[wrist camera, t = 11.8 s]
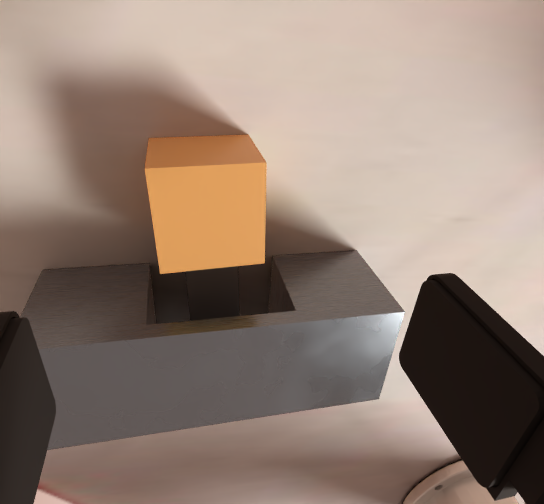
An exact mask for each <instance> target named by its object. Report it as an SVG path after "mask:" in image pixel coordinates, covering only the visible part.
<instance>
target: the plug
mask: <svg viewBox="0 0 544 504" xmlns="http://www.w3.org/2000/svg"><path fill="white" fill-rule="evenodd" d="M145 175H146V181H147V188H148V195H149V202H150V209H151V215H152V222H153V229H154V236H155V242H156V249H157V256H158V263H159V270H160V274H165V273H175V272H186V281H187V291H188V300H189V309H190V319H191V321H193V320H204V319H214V318H225V317H235V316H239V281H238V266H243V265H253V264H263V263H265V219H266V161H265V159H264V158H263V156H262V155H261V153H260V152H259V150H258V149H257V147H256V146H255V144H254V143H253V141H252V139H251V138H250V136H249V135H220V136H192V137H164V138H149V140H148V148H147V155H146V162H145Z"/></svg>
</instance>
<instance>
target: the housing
mask: <svg viewBox="0 0 544 504" xmlns="http://www.w3.org/2000/svg"><path fill="white" fill-rule="evenodd" d="M404 313H405V311H404V310H403V309H402V308H401V306H400V305H399V304H398V302H397V301H396V300H395V299H394V297H393V296H392V295H391V294H390V292H389V291H388V290H387V288H386V287H385V286H384V285H383V283H382V282H381V281H380V280H379V278H378V277H377V276H376V274H375V273H374V272H373V271H372V269H371V268H370V267H369V266H368V264H367V263H366V262H365V260H364V259H363V258H362V257H361V255H360V254H359V253H358V252H357V250H356V251H340V252H324V253H308V254H292V255H276V256H273V257H272V270H271V283H270V296H269V309H268V313H267V314H257V315H246V316H235V317H225V318H214V319H204V320H193V321H183V322H172V323H162V324H156V318H155V308H154V299H153V290H152V281H151V271H150V263H146V264H130V265H114V266H98V267H82V268H65V269H49V270H42V272H41V274H40V276H39V278H38V281H37V283H36V285H35V287H34V289H33V291H32V293H31V295H30V297H29V300H28V302H27V304H26V306H25V308H24V310H23V312H22V314H21V316H20V318H22V317H26V318H27V319H28V320H29V322H30V325H31V328H32V331H33V334H34V337H35V340H36V344H37V347H38V350H39V353H40V356H41V359H42V362H43V365H44V368H45V371H46V374H47V377H48V380H49V383H50V386H51V389H52V392H53V396H54V399H55V403H56V416H55V420H54V424H53V428H52V432H51V436H50V440H49V444H48V448H47V450H51V449H57V448H64V447H70V446H77V445H83V444H90V443H96V442H103V441H109V440H116V439H122V438H129V437H135V436H142V435H148V434H155V433H161V432H168V431H174V430H181V429H187V428H194V427H200V426H207V425H213V424H220V423H226V422H233V421H239V420H246V419H252V418H259V417H265V416H272V415H278V414H285V413H291V412H298V411H304V410H311V409H317V408H324V407H330V406H337V405H343V404H350V403H356V402H363V401H369V400H376V399H379V396H380V393H381V390H382V386H383V383H384V380H385V376H386V373H387V370H388V366H389V363H390V360H391V356H392V353H393V350H394V346H395V343H396V340H397V336H398V333H399V330H400V326H401V323H402V320H403V316H404Z"/></svg>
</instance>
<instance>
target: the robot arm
mask: <svg viewBox="0 0 544 504" xmlns="http://www.w3.org/2000/svg"><path fill="white" fill-rule="evenodd" d="M399 361H400V364H401V367H402V369H403V370H404V372H405V373H406V375H407V376H408V378H409V379H410V381H411V382H412V384H413V385H414V387H415V388H416V390H417V391H418V393H419V394H420V396H421V397H422V399H423V401H424V402H425V404H426V405H427V407H428V408H429V410H430V411H431V413H432V414H433V416H434V417H435V419H436V420H437V422H438V423H439V425H440V426H441V428H442V429H443V431H444V433H445V434H446V436H447V437H448V439H449V440H450V442H451V443H452V445H453V446H454V448H455V449H456V451H457V452H458V454H459V455H460V457H461V458H462V460H461V461H458V462H455V463H453V464H451V465H448V466H446V467H444V468H442V469H440V470H438V471H437V472H435V473H433V474H432V475H430V476H429V477H427V478H426V479H424V480H423V481H422V482H420V483H419V484H418V485H417V486H416V487H415V488H414V489H413V490H412V491H411V492H410V493H409V494H408V496H407V497H406V498H405V500H404V502H403V504H519V503H518V502H517V500H516V499H515V497H514V496H515V495H516V493H517V492H518V493H519V494H520V496H521V497H522V498H523V500H524V502H525V504H544V356H543V355H542V354H541V353H540V352H539V351H537V350H536V349H535V348H534V347H533V346H532V345H531V344H530V343H529V342H528V341H527V340H526V339H525V338H523V337H522V336H521V335H520V334H519V333H518V332H517V331H516V330H515V329H514V328H513V327H512V326H511V325H509V324H508V323H507V322H506V321H505V320H504V319H503V318H502V317H501V316H500V315H499V314H498V313H497V312H496V311H494V310H493V309H492V308H491V307H490V306H489V305H488V304H487V303H486V302H485V301H484V300H483V299H482V298H480V297H479V296H478V295H477V294H476V293H475V292H474V291H473V290H472V289H471V288H470V287H469V286H468V285H466V284H465V283H464V282H463V281H462V280H461V279H460V278H459V277H458V276H457V275H455V274H452V273H447V274H435V275H431V276H429V277H428V278H427V280H426V281H424V282H423V284H422V286H421V289H420V292H419V295H418V298H417V301H416V304H415V307H414V310H413V313H412V316H411V319H410V323H409V326H408V329H407V332H406V335H405V338H404V341H403V344H402V347H401V350H400V353H399ZM55 416H56V403H55V399H54V396H53V392H52V389H51V386H50V383H49V380H48V377H47V374H46V371H45V368H44V365H43V362H42V359H41V356H40V353H39V350H38V347H37V344H36V340H35V337H34V334H33V331H32V328H31V325H30V322H29V320H28V319H27V318H26V317H22V318H20V317H19V315H18V314H17V313H16V312H14V311H11V312H0V504H33V503H34V499H35V495H36V491H37V487H38V484H39V480H40V476H41V472H42V468H43V464H44V460H45V456H46V452H47V448H48V444H49V440H50V436H51V432H52V428H53V424H54V420H55Z"/></svg>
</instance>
